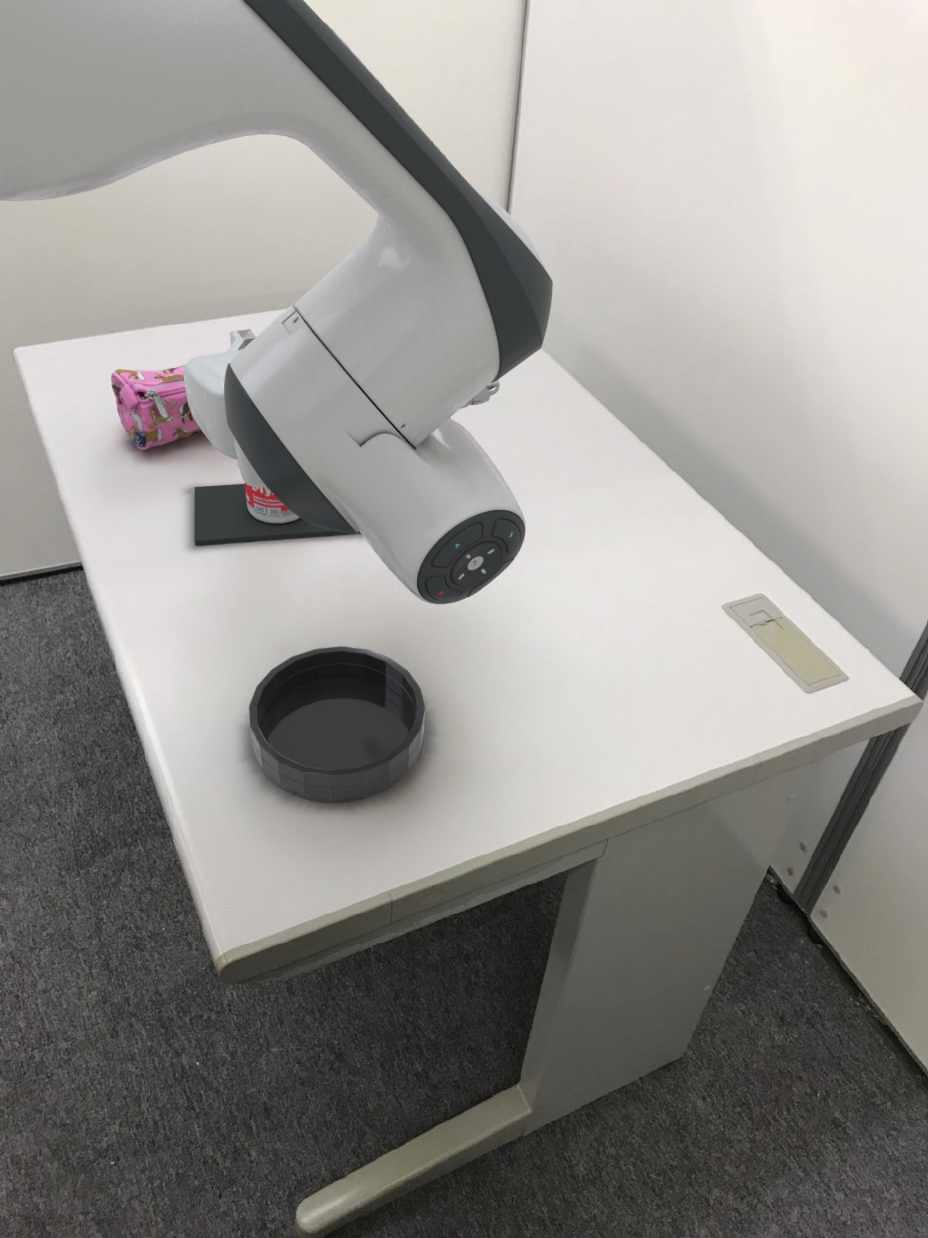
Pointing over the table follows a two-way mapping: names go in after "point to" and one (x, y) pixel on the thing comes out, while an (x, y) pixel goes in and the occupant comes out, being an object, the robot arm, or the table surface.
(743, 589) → the table surface
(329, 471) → the robot arm
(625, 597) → the table surface
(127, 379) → the pencil case
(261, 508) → the pill bottle
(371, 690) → the pan
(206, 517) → the mat
